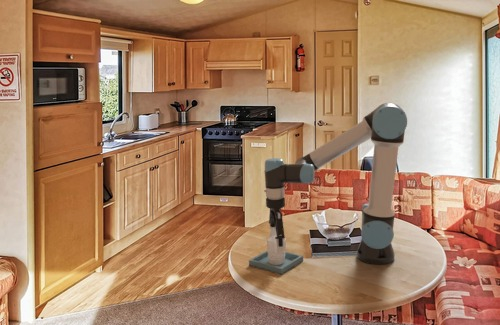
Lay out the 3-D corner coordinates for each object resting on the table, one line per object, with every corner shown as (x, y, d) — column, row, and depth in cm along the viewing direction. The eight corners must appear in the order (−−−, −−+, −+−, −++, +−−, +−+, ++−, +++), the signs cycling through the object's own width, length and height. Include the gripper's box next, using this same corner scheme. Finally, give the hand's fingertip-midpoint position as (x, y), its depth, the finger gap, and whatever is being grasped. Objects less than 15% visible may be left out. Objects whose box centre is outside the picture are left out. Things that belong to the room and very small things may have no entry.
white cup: (285, 266, 191) (284, 242, 189) (265, 265, 192) (265, 241, 190) (287, 258, 198) (287, 235, 196) (268, 257, 200) (268, 235, 198)
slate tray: (303, 261, 197) (303, 255, 196) (281, 274, 184) (281, 268, 184) (271, 253, 206) (271, 248, 206) (249, 265, 194) (248, 260, 193)
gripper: (261, 190, 202) (263, 238, 206) (271, 206, 177) (273, 259, 181) (278, 189, 203) (280, 236, 207) (291, 204, 178) (293, 258, 182)
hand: (277, 247), depth 194 cm, fingers open, 13 cm apart
